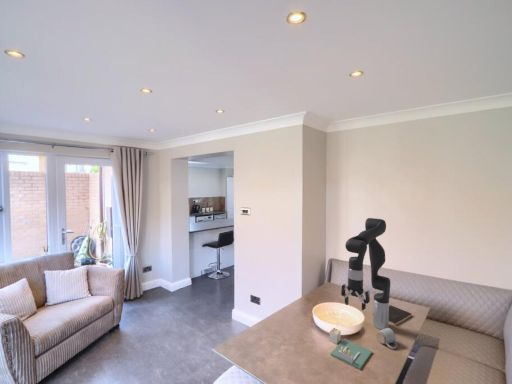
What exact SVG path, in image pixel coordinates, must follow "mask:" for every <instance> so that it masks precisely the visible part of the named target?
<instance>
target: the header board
mask: <svg viewBox="0 0 512 384" xmlns="http://www.w3.org/2000/svg"><path fill="white" fill-rule="evenodd" d="M372 353H373V351H372V350H371V349H369V348H367V347H365V346H362V345H359V344H357V343H355V342H353V341H351V340H348V339H346V338H344V339H342V341H341V342H339V343H338V345H337V346H336V347H335V348H334V349H333V350H332V351H331V352H330V356H332V357H334V358H336V359H338V360H339V361H342V362H344V363H345V364H347V365H349V366H352V367H353V368H356V369H358V370H361V369H362V368H363V366H364V365H365V363H366V362H367V360H368V359H369V358H370V356H371V354H372Z"/></svg>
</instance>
